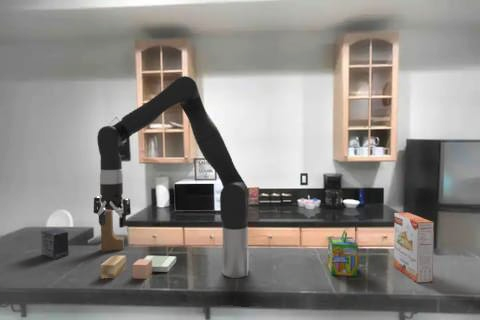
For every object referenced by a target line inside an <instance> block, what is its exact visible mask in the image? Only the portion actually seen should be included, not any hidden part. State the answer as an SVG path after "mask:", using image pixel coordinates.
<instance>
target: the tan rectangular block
mask: <svg viewBox="0 0 480 320" xmlns="http://www.w3.org/2000/svg"><path fill="white" fill-rule="evenodd" d="M126 269H127V257H126V255H111V256H110V257H109V258H108V259H106V260H105V261H104V262H103V263H101V264H100V279H104V278H106V279H107V278H114V280H115V279H116V278H117V277H118V276H119V275H120V274H121V273H123V271H125V270H126Z"/></svg>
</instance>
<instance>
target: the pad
mask: <svg viewBox="0 0 480 320" xmlns="http://www.w3.org/2000/svg"><path fill="white" fill-rule="evenodd" d="M143 259H149V260H152V272H161V273H163V272H164V273H168V272H170V270H171V269H172V268H173V266H174V265H175V264H176V263H177V256H170V255H167V256H166V255H146V256H145V257H144V258H143Z"/></svg>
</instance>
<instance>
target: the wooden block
mask: <svg viewBox="0 0 480 320" xmlns="http://www.w3.org/2000/svg"><path fill="white" fill-rule="evenodd" d="M113 212H114V210H107V211H106V212H105V214H104V215H105V222H106V223H105V225H103V226H100V239H101V240H100V243H101V252H113V251H121V250H124V248H125V237H124V236H117V235H116V233H115V232H114V219H113V218H114V217H113V216H114V215H113V214H114V213H113ZM112 250H113V251H112Z"/></svg>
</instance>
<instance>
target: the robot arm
mask: <svg viewBox="0 0 480 320" xmlns="http://www.w3.org/2000/svg"><path fill="white" fill-rule="evenodd" d="M177 104H179V105H180V107H181V109H182V110H183V112H184V114H185V116H186V117H187V119H188V121H189V125H190V127H191V132H192V133H193V137H194V140H195V141H196V144H197V147H198V149H199V151H200V153H201V155H202V156H203V157H204V159H205V160H206V162H207V163H208V164H209V166H211V168H212V169H213V170H214V171H215V172H216V175H217V176H218V178H219V180H220V182H221V185H222V189H221V191H220V195H219V196H220V197H219V206H220V207H219V209H220V211H219V212H220V220H221V222H222V223H221V224H222V225H221V226H222V227H221V228H222V232H221V234H222V274H223V275H224V276H225V277H227V278H232V279H238V278H244V277H248V275H249V269H250V268H249V267H250V266H249V263H250V262H249V239H248V238H249V233H248V232H249V223H248V222H249V221H248V217H247V209H246V208H247V201H248V199H249V195H250V191H249V188H248V186H247V184H246V183H245V181H244V180H243V177H242V176H241V175H240V173H239V171H238V170H237V168H236V166H235V164H234V161H233V159H232V157H231V154H230V152H229V150H228V148H227V145H226V144H225V140H224V139H223V136H222V135H221V133H220V130H219V129H218V127H217V126H216V124H215V123H214V121H213V120H212V118H211V117H210V115H209V114H208V112H207V111H206V109H205V106H204V104H203V101H202V98H201V95H200V92H199V88H198V84H197V82H196V80H195V79H193V78H192V77H191V76H188V75H183V76H179V77H178V78H176V79H175V80H174V81H172V82H171V83H170V84H169V85H168V86H167V87H165V88H164V89H163V90H162V91H160V92H159V93H158V94H156V96H154V97H152V98H151V99H149V100H148V101H147V102H146V103H144V104H142V105H140V106H138V107H137V108H135V109H134V110H132V111H131V112H129V113H127V114H125V115H124V116H122V118H121V120H120V121H118V122H116V123H115V124H112V125H106V126H105V125H104V126H102V127H101V128H100V129H99V130H98V133H97V137H96V139H97V140H96V141H97V146H98V152H99V155H100V173H99V188H100V189H99V195H101V196H95V197H94V198H93V213H94V214H97V215H98V224H99V227H101V226H103V225H105V223H106V222H105V215H104V214H105V212H106V211H107V210H113V211H114V212H115V213H116V214H117V215H118V221H119V225H118V227H119V228H125V226H126V224H127V222H126V221H127V220H126V218H127V216H130V215H131V214H132V212H131V211H132V210H131V199H130V198H123V193H124V192H123V191H124V188H123V187H124V185H123V178H124V177H123V169H122V168H123V167H122V165H123V164H122V160H123V159H122V155H121V154H120V151H119V149H120V148H119V147H120V146H119V145H120V144H121V143H123V142H125V141H126V140H128V139H129V138H130V137H131V136H132V135H135V134H136V133H138V132H139V131H141V130H142V129H144V128H146V127H149V125H151V124H152V123H153V122H154V121H155V120H157V119H158V118H159V117H160V116H161V115H162V114H163V113H165V111H167V110H169V109H170V108H171V107H173V106H175V105H177Z"/></svg>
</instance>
